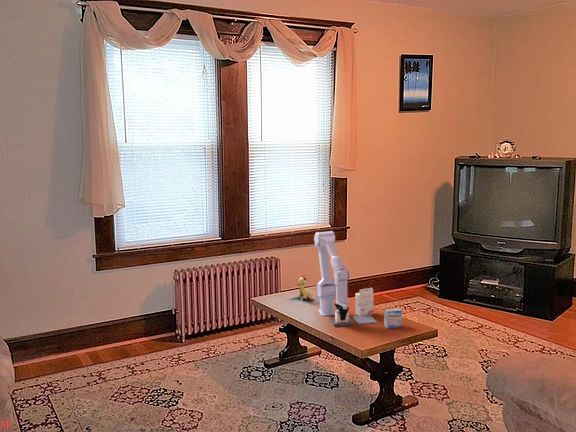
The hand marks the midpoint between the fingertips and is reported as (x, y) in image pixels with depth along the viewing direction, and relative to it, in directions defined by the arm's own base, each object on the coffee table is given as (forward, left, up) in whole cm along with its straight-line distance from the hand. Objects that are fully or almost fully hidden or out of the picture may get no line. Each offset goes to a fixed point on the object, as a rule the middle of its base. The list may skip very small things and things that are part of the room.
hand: (341, 318), depth 286 cm
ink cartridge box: (-11, +15, -3) cm, 19 cm away
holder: (0, 0, -2) cm, 2 cm away
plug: (0, 0, -2) cm, 2 cm away
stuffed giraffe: (-43, -10, -3) cm, 44 cm away
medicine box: (+10, +23, -3) cm, 26 cm away
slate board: (-2, +12, -2) cm, 13 cm away
